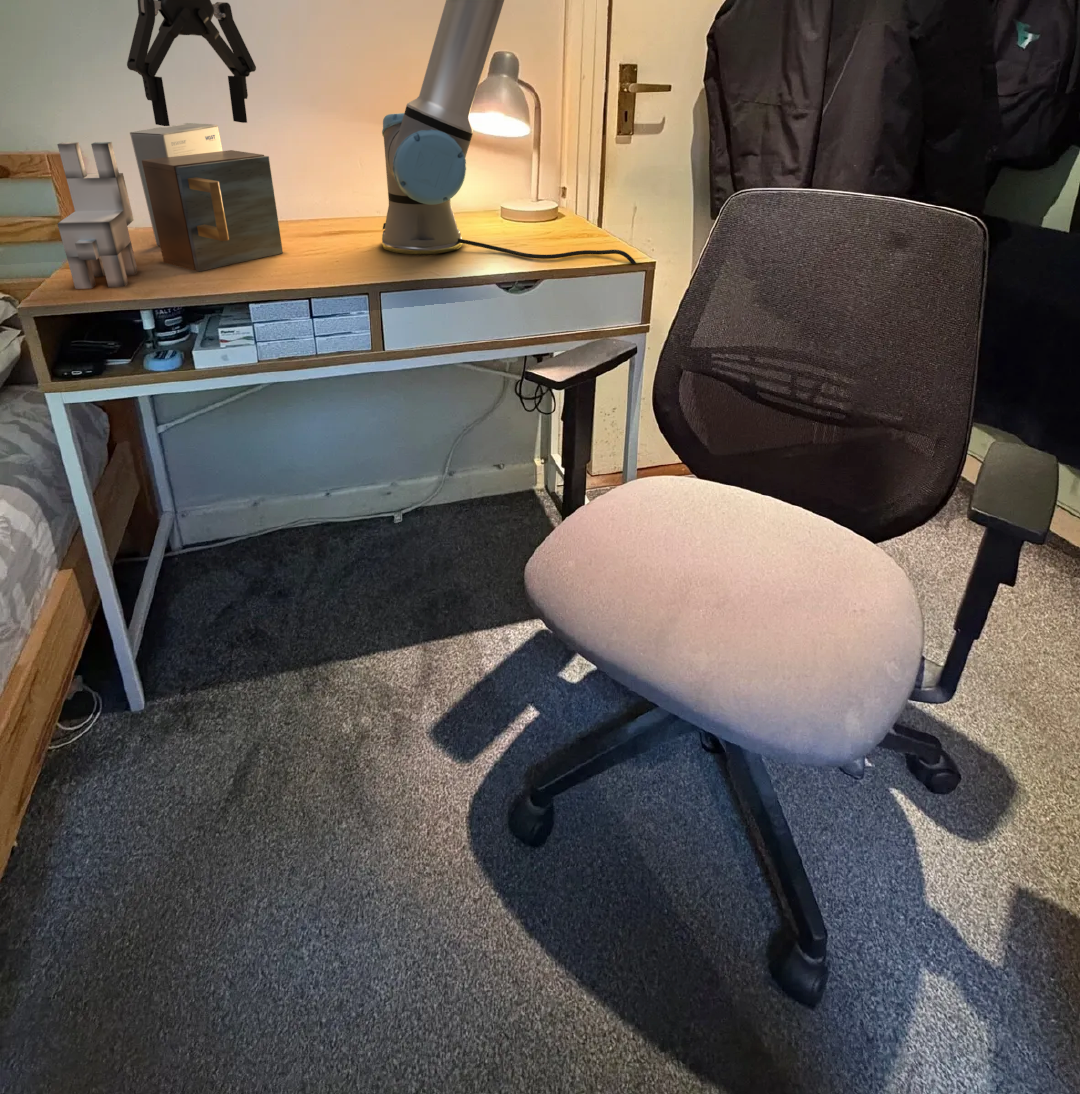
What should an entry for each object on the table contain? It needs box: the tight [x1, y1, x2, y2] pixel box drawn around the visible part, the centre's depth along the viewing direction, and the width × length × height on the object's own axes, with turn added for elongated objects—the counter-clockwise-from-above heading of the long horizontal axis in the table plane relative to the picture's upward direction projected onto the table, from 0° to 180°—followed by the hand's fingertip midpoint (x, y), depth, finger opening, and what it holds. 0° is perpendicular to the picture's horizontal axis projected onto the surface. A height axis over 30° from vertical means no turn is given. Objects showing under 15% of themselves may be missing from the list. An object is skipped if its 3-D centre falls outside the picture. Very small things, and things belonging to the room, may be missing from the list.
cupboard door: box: [175, 155, 284, 272], centre depth 145 cm, size 8×18×16 cm, turn 143°
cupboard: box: [142, 149, 265, 272], centre depth 150 cm, size 10×18×17 cm, turn 143°
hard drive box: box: [129, 122, 223, 247], centre depth 161 cm, size 16×8×20 cm, turn 159°
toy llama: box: [57, 141, 139, 290], centre depth 136 cm, size 8×18×20 cm, turn 11°
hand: (202, 123), depth 133 cm, fingers open, 13 cm apart
